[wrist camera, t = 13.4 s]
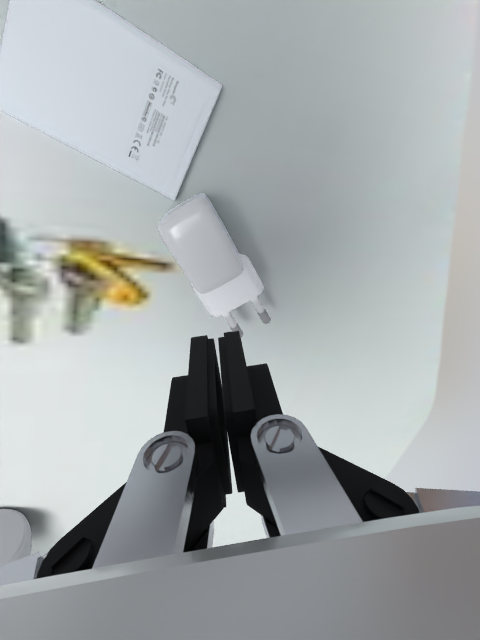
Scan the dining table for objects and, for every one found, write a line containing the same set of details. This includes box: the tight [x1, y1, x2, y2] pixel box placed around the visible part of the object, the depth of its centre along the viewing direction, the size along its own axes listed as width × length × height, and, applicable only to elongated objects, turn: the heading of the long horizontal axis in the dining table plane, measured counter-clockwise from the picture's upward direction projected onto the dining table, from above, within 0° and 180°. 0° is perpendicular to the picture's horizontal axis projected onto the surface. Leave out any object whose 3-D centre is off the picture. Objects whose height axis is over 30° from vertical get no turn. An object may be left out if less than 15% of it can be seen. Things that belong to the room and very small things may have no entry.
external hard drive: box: [0, 0, 223, 201], centre depth 21 cm, size 2×8×12 cm
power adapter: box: [157, 193, 271, 338], centre depth 24 cm, size 11×5×6 cm, turn 28°
